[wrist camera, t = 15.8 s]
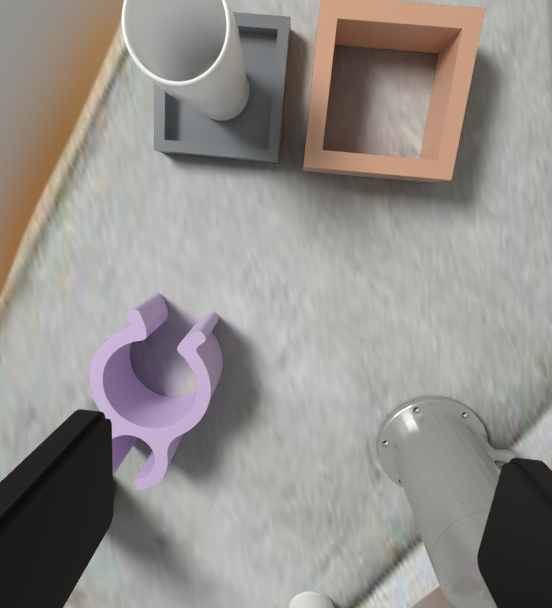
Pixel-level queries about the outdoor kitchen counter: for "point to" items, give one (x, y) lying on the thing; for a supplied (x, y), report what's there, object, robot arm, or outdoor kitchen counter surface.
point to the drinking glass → (189, 52)
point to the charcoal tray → (257, 113)
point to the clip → (145, 403)
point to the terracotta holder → (408, 37)
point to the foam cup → (311, 601)
